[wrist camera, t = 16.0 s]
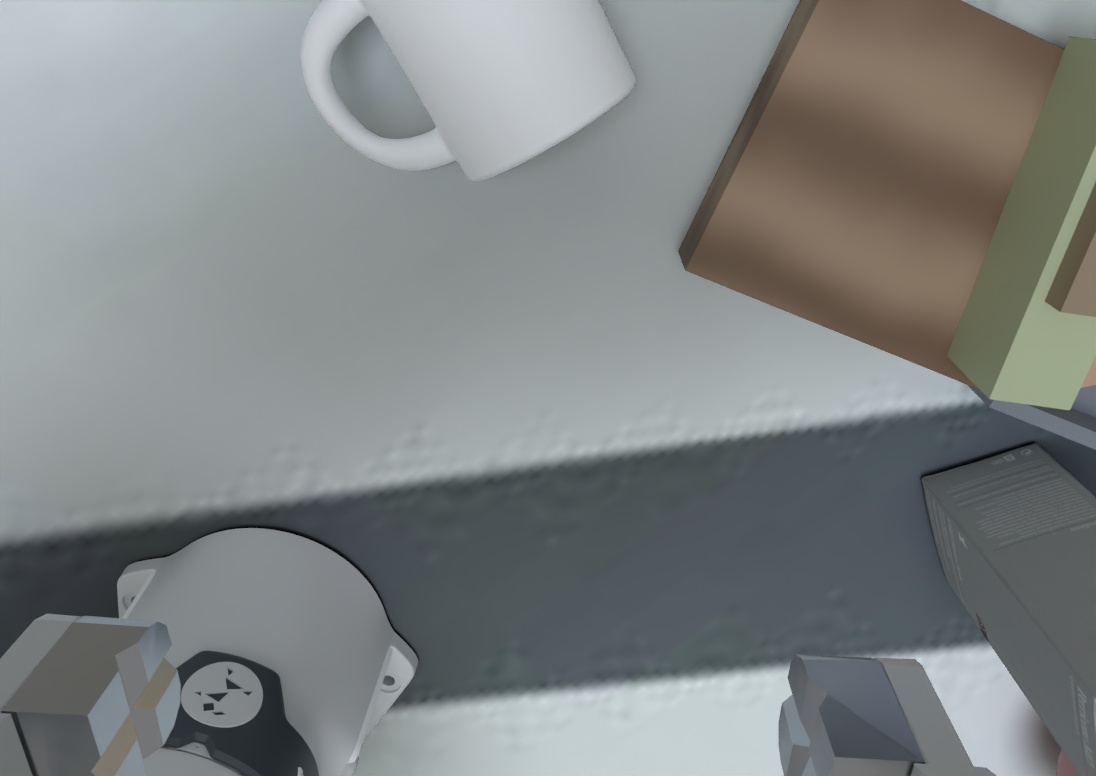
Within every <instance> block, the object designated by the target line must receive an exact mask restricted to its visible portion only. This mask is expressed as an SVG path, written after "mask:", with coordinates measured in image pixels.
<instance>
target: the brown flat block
mask: <svg viewBox="0 0 1096 776" xmlns="http://www.w3.org/2000/svg"><path fill="white" fill-rule="evenodd" d="M1063 52H1064V49H1062V48H1060V47H1058V46H1056V45H1054V44H1052V43H1049V42H1047V41H1045V40H1043V39H1041V38H1039V37H1037V36H1035V35H1033V34H1030V33H1028V32H1026V31H1024V30H1022V29H1020V28H1018V27H1016V26H1014V25H1011V24H1009V23H1007V22H1005V21H1003V20H1001V19H999V18H997V17H995V16H992V15H990V14H988V13H986V12H984V11H982V10H980V9H978V8H976V7H974V6H971V5H969V4H967V3H965V2H963V1H961V0H800V2H799V4H798V6H797V8H796V10H795V12H794V14H793V16H792V19H791V21H790V23H789V25H788V27H787V29H786V31H785V33H784V35H783V37H782V39H781V41H780V43H779V45H778V47H777V49H776V51H775V54H774V56H773V58H772V60H771V62H770V64H769V66H768V68H767V70H766V72H765V74H764V76H763V78H762V80H761V82H760V84H759V87H758V89H757V91H756V93H755V95H754V97H753V99H752V101H751V103H750V105H749V107H748V109H747V111H746V113H745V115H744V117H743V119H742V122H741V124H740V126H739V128H738V130H737V132H736V134H735V136H734V138H733V140H732V142H731V144H730V146H729V148H728V150H727V152H726V154H725V157H724V159H723V161H722V163H721V165H720V167H719V169H718V171H717V173H716V175H715V177H714V179H713V181H712V183H711V185H710V187H709V190H708V192H707V194H706V196H705V198H704V200H703V202H702V204H701V206H700V208H699V210H698V212H697V214H696V216H695V218H694V220H693V222H692V225H691V227H690V229H689V231H688V233H687V235H686V237H685V239H684V241H683V243H682V245H681V247H680V249H679V251H678V252H679V254H680V257H681V260H682V263H683V265H684V268H685V271H688V272H690V273H693V274H695V275H698V276H700V277H703V278H705V279H708V280H710V281H713V282H715V283H718V284H720V285H723V286H725V287H727V288H730V289H732V290H735V291H737V292H740V293H742V294H745V295H747V296H750V297H752V298H755V299H757V300H760V301H762V302H765V303H767V304H770V305H772V306H775V307H777V308H779V309H782V310H784V311H787V312H789V313H792V314H794V315H797V316H799V317H802V318H804V319H807V320H809V321H812V322H814V323H817V324H819V325H822V326H824V327H826V328H829V329H831V330H834V331H836V332H839V333H841V334H844V335H846V336H849V337H851V338H854V339H856V340H859V341H861V342H864V343H866V344H869V345H871V346H874V347H876V348H878V349H881V350H883V351H886V352H888V353H891V354H893V355H896V356H898V357H901V358H903V359H906V360H908V361H911V362H913V363H916V364H918V365H921V366H923V367H925V368H928V369H930V370H933V371H935V372H938V373H940V374H943V375H945V376H948V377H950V378H953V379H955V380H958V381H960V382H963V383H965V384H968V385H970V386H973V387H975V388H977V389H979V388H978V387H977V386H976V385H975V384H974V383H973V382H972V381H971V380H970V379H969V378H968V377H967V376H966V375H965V374H964V373H963V372H962V371H961V370H960V369H959V368H958V367H957V366H956V365H955V364H954V363H953V362H952V361H951V360H950V359H949V358H948V357H947V354H948V351H949V349H950V346H951V344H952V341H953V338H954V336H955V333H956V331H957V328H958V325H959V323H960V320H961V318H962V315H963V312H964V310H965V307H966V305H967V302H968V299H969V297H970V294H971V292H972V289H973V286H974V284H975V281H976V279H977V276H978V273H979V271H980V268H981V266H982V263H983V260H984V258H985V255H986V253H987V250H988V247H989V245H990V242H991V239H992V237H993V234H994V232H995V229H996V226H997V224H998V221H999V219H1000V216H1001V213H1002V211H1003V208H1004V206H1005V203H1006V200H1007V198H1008V195H1009V193H1010V190H1011V187H1012V185H1013V182H1014V180H1015V177H1016V174H1017V172H1018V169H1019V167H1020V164H1021V161H1022V159H1023V156H1024V154H1025V151H1026V148H1027V146H1028V143H1029V141H1030V138H1031V135H1032V133H1033V130H1034V127H1035V125H1036V122H1037V120H1038V117H1039V114H1040V112H1041V109H1042V107H1043V104H1044V101H1045V99H1046V96H1047V94H1048V91H1049V88H1050V86H1051V83H1052V81H1053V78H1054V75H1055V73H1056V70H1057V68H1058V65H1059V62H1060V60H1061V57H1062V55H1063Z"/></svg>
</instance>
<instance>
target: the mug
mask: <svg viewBox="0 0 1096 776" xmlns="http://www.w3.org/2000/svg"><path fill="white" fill-rule="evenodd" d="M368 16H370V17H371V18H372V19H373V21H374V23H375V24H376V26H377V28H378V29H379V31H380V33H381V35H382V36H383V38H384V40H385V41H386V43H387V45H388V46H389V48H390V50H391V51H392V53H393V55H394V56H395V58H396V60H397V61H398V63H399V65H400V66H401V68H402V70H403V71H404V73H405V75H406V76H407V78H408V80H409V81H410V83H411V85H412V86H413V88H414V90H415V91H416V93H417V95H418V96H419V98H420V100H421V101H422V103H423V105H424V106H425V108H426V110H427V112H428V113H429V115H430V117H431V118H432V120H433V122H434V123H435V125H436V127H435V129H434V130H432V131H429V132H427V133H424V134H421V135H418V136H414V137H410V138H403V139H389V138H384V137H380V136H378V135H376V134H374V133H372V132H370V131H369V130H367V129H366V128H365V127H364V126H363V125H362V124H361V123H360V122H359V121H358V120H357V119H356V118H355V117H354V116H353V115H352V114H351V112H350V111H349V110H348V109H347V107H346V106H345V105H344V103H343V102H342V100H341V99H340V97H339V95H338V94H337V92H336V90H335V88H334V85H333V83H332V79H331V75H330V65H331V61H332V57H333V55H334V53H335V51H336V49H337V47H338V46H339V44H340V43H341V41H342V40H343V39H344V38H345V37H346V35H347V34H348V33H349V32H350V31H351V30H352V29H353V28H354V27H355V26H356V25H357V24H358V23H360V22H361V21H362V20H363V19H364V18H366V17H368ZM301 69H302V74H303V78H304V82H305V85H306V88H307V91H308V93H309V95H310V97H311V99H312V102H313V103H314V105H315V107H316V109H317V110H318V112H319V113H320V115H321V116H322V117H323V119H324V120H325V121H326V123H327V124H328V125H329V126H330V127H331V128H332V130H333V131H334V132H335V133H336V134H337V135H338V136H339V137H340V138H341V139H343V140H344V141H345V142H346V143H347V144H348V145H350V146H351V147H352V148H354V149H355V150H356V151H358V152H359V153H361V154H362V155H364V156H366V157H367V158H369V159H371V160H373V161H375V162H377V163H379V164H382V165H384V166H387V167H390V168H394V169H399V170H406V171H421V170H428V169H433V168H437V167H440V166H443V165H446V164H449V163H451V162H454V161H456V162H458V163H459V165H460V167H461V168H462V170H463V172H464V173H465V175H466V177H467V178H468V179H469V180H470V181H474V182H476V181H482V180H486V179H489V178H491V177H494V176H496V175H499V174H501V173H503V172H506V171H508V170H510V169H512V168H514V167H516V166H518V165H520V164H522V163H524V162H526V161H528V160H530V159H531V158H533V157H535V156H537V155H539V154H541V153H542V152H544V151H546V150H548V149H549V148H551V147H553V146H555V145H556V144H558V143H560V142H561V141H563V140H565V139H566V138H568V137H570V136H571V135H573V134H574V133H576V132H578V131H579V130H581V129H582V128H584V127H585V126H587V125H588V124H590V123H591V122H593V121H594V120H596V119H597V118H599V117H600V116H602V115H603V114H604V113H606V112H607V111H608V110H610V109H611V108H612V107H614V106H615V105H616V104H618V103H619V102H620V101H621V100H622V99H624V98H625V97H626V96H627V95H628V94H629V93H630V92H631V91H632V89H633V88H634V86H635V84H636V77H635V75H634V73H633V71H632V69H631V67H630V65H629V63H628V61H627V59H626V57H625V55H624V52H623V50H622V48H621V46H620V44H619V42H618V40H617V38H616V36H615V34H614V32H613V30H612V28H611V26H610V24H609V22H608V20H607V18H606V16H605V14H604V11H603V9H602V7H601V5H600V3H599V1H598V0H322V2H321V3H320V4H319V5H318V7H317V8H316V9H315V11H314V12H313V14H312V16H311V18H310V19H309V21H308V23H307V26H306V28H305V31H304V34H303V38H302V43H301Z"/></svg>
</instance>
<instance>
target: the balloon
mask: <svg viewBox="0 0 1096 776" xmlns="http://www.w3.org/2000/svg"><path fill="white" fill-rule="evenodd" d="M1056 776H1080V775H1079V774H1078V772H1077V771H1076V769H1075V768H1074V766H1073V765H1072V763H1071V762H1070V760H1069V759H1068V757H1067V756H1066V754H1065V753H1064V752H1063V750H1062V749H1061V752H1060V755H1059V759H1058V765H1057V772H1056Z"/></svg>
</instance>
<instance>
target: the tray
mask: <svg viewBox="0 0 1096 776" xmlns="http://www.w3.org/2000/svg"><path fill="white" fill-rule="evenodd" d="M967 385H968V384H967ZM968 386H969V387H970V388H971V389H972V390H973V391H974V392H975V393H976V394H977V395H978V396H979V397H980V398H981V399H982V400H983V401H984V402H985V404H986V405H987V406H988V407H990V408H993V409H995V410H998V411H1000V412H1003V413H1005V414H1008V415H1010V416H1012V417H1015V418H1017V419H1020V420H1022V421H1025V422H1027V423H1030V424H1032V425H1035V426H1037V427H1040V428H1042V429H1045V430H1047V431H1050V432H1052V433H1055V434H1057V435H1060V436H1062V437H1065V438H1067V439H1070V440H1072V441H1075V442H1077V443H1080V444H1082V445H1085V446H1087V447H1090V448H1092V449H1095V450H1096V385H1093V386H1088V387H1083V388H1080V390H1079V392H1078V394H1077V396H1076V399H1075V401H1074V403H1073V405H1072V407H1071V409H1070V410H1064V409H1057V408H1049V407H1042V406H1035V405H1028V404H1021V403H1013V402H1006V401H999V400H992V399H989V398H988V397H987V396H986V395H985V394H984V393H983V392H982V391H981V390H980V389H977V388H975V387H973V386H970V385H968Z"/></svg>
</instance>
